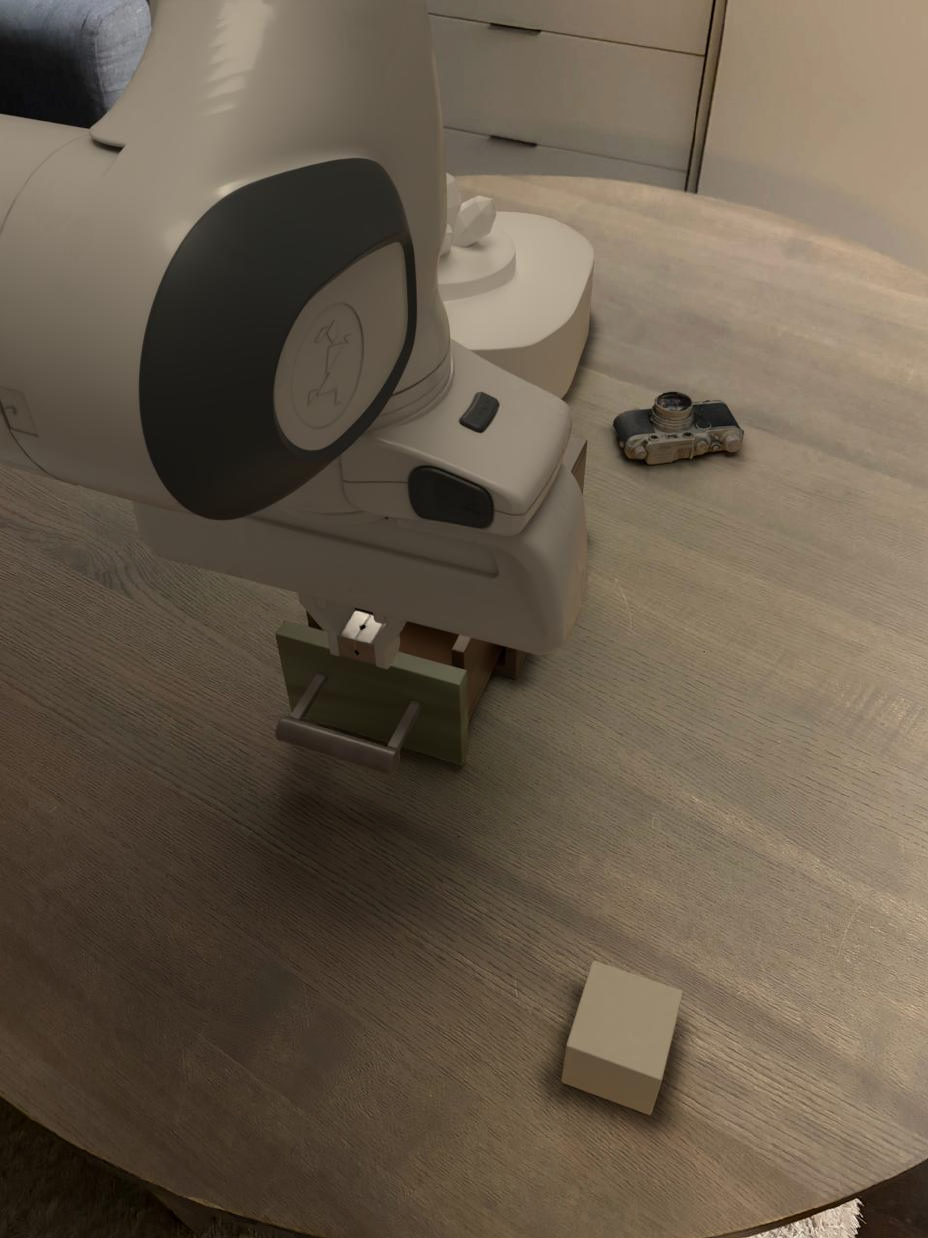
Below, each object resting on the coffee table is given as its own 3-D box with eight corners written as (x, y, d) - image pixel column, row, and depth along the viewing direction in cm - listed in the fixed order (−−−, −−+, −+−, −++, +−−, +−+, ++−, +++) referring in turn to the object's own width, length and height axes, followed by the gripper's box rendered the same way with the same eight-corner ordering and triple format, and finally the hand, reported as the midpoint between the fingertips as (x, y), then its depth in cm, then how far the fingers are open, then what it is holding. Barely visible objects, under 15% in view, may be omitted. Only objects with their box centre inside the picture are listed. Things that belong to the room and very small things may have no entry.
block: (650, 1116, 49) (662, 1080, 46) (560, 1083, 50) (565, 1045, 47) (671, 1029, 52) (683, 990, 49) (586, 999, 53) (592, 959, 50)
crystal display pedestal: (551, 441, 86) (561, 256, 75) (269, 399, 91) (238, 219, 79) (602, 294, 103) (617, 125, 91) (362, 265, 108) (348, 101, 96)
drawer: (431, 831, 59) (425, 753, 54) (253, 774, 62) (231, 695, 57) (532, 613, 71) (536, 532, 66) (379, 574, 74) (371, 493, 69)
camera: (748, 456, 84) (757, 412, 81) (623, 469, 84) (628, 425, 80) (728, 419, 88) (737, 376, 85) (608, 431, 87) (612, 388, 84)
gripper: (61, 401, 41) (142, 644, 51) (566, 513, 36) (547, 760, 45) (149, 323, 45) (209, 562, 55) (612, 413, 40) (586, 659, 50)
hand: (365, 652), depth 50 cm, fingers closed
